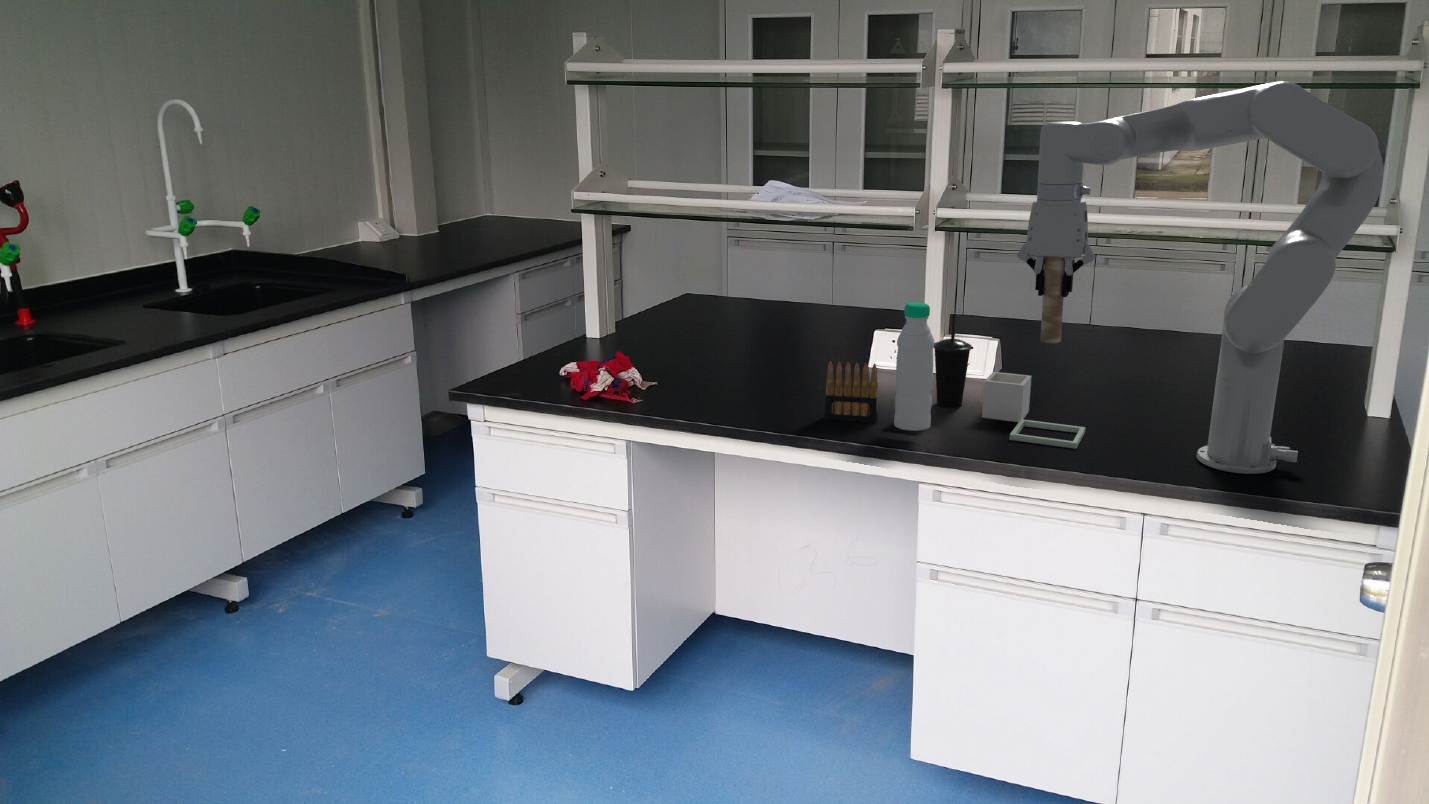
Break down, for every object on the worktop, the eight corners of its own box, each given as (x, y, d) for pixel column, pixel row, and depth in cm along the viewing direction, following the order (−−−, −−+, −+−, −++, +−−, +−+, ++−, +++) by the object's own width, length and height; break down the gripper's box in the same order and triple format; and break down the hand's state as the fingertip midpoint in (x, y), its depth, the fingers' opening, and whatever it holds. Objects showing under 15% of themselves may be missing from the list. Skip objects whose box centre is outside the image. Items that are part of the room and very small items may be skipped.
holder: (1028, 416, 213) (1031, 375, 210) (1020, 427, 206) (1023, 385, 204) (990, 411, 216) (993, 371, 213) (981, 422, 209) (984, 381, 207)
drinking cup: (926, 404, 221) (930, 311, 216) (961, 402, 222) (967, 310, 216) (935, 415, 214) (940, 319, 208) (972, 413, 215) (978, 318, 209)
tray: (1084, 437, 200) (1085, 427, 199) (1075, 453, 191) (1076, 443, 191) (1020, 428, 205) (1021, 419, 204) (1009, 444, 197) (1009, 434, 196)
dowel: (1062, 339, 195) (1068, 242, 190) (1058, 343, 192) (1064, 245, 187) (1042, 338, 197) (1048, 241, 192) (1038, 342, 194) (1043, 244, 189)
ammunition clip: (878, 420, 212) (879, 362, 208) (877, 422, 210) (878, 364, 207) (825, 416, 215) (826, 359, 211) (824, 419, 213) (824, 362, 209)
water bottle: (897, 422, 210) (902, 299, 203) (933, 425, 208) (939, 301, 200) (890, 433, 204) (894, 306, 197) (926, 436, 201) (932, 308, 194)
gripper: (1111, 192, 186) (1104, 294, 191) (1017, 190, 194) (1012, 289, 199) (1104, 196, 180) (1097, 301, 185) (1007, 194, 187) (1002, 296, 193)
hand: (1053, 294), depth 192 cm, fingers closed on dowel, 3 cm apart
